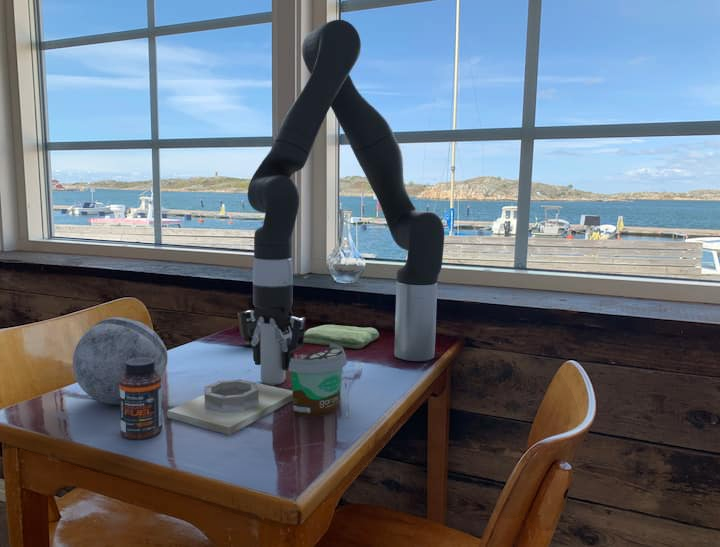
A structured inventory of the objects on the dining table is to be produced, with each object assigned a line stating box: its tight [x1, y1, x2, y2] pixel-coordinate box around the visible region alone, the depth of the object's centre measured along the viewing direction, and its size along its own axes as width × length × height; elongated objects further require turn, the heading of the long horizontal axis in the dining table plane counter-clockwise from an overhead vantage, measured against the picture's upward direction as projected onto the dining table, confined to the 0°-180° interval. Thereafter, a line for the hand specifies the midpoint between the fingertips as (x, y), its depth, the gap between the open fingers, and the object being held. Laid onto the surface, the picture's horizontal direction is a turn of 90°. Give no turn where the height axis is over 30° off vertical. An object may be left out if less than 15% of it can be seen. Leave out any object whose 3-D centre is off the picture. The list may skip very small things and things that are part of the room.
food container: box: [287, 343, 348, 418], centre depth 94 cm, size 12×6×10 cm, turn 148°
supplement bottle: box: [119, 357, 163, 440], centre depth 84 cm, size 6×6×11 cm
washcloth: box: [303, 324, 380, 350], centre depth 141 cm, size 13×18×3 cm
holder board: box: [167, 378, 293, 436], centre depth 95 cm, size 18×13×4 cm
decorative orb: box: [72, 316, 168, 405], centre depth 96 cm, size 15×14×15 cm
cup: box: [236, 309, 258, 347], centre depth 134 cm, size 8×7×8 cm
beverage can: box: [260, 323, 286, 386], centre depth 108 cm, size 5×5×12 cm
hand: (273, 366), depth 108 cm, fingers open, 6 cm apart
